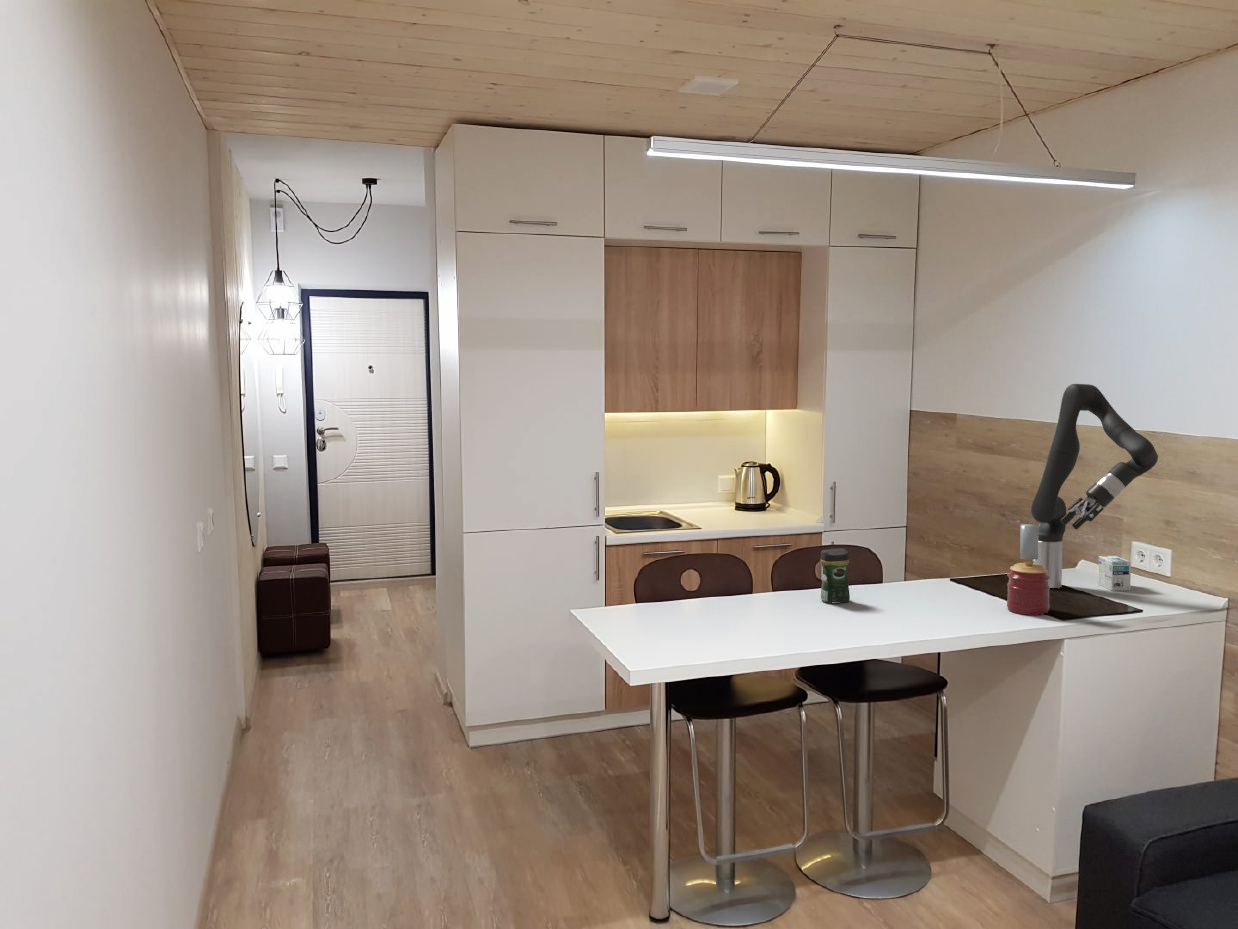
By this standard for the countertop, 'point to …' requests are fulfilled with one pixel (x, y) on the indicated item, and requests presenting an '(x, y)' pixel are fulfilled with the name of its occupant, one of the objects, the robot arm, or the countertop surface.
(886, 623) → the countertop surface
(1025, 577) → the canister
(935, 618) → the countertop surface
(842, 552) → the coffee jar
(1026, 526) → the grey rounded bar
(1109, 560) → the light bulb box
